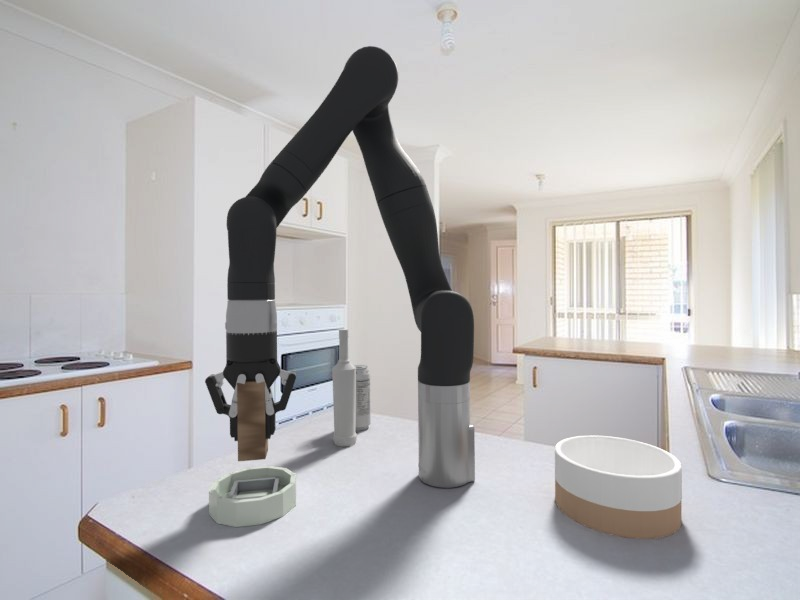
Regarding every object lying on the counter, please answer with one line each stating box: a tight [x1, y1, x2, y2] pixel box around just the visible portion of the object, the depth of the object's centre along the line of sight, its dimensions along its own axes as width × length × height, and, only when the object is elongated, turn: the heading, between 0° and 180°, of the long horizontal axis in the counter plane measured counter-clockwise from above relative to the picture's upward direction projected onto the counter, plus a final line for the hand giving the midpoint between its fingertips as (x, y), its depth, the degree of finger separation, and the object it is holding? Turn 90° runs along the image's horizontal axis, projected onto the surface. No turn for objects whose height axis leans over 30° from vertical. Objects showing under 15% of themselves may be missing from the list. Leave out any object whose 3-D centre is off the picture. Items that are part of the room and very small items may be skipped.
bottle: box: [331, 328, 358, 447], centre depth 95 cm, size 5×5×25 cm
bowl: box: [554, 434, 683, 540], centre depth 66 cm, size 17×17×8 cm
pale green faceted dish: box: [208, 465, 297, 528], centre depth 68 cm, size 13×13×4 cm
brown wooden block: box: [237, 381, 269, 462], centre depth 68 cm, size 4×4×12 cm
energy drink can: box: [352, 364, 372, 432], centre depth 106 cm, size 6×6×15 cm
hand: (253, 437), depth 68 cm, fingers closed on brown wooden block, 4 cm apart
